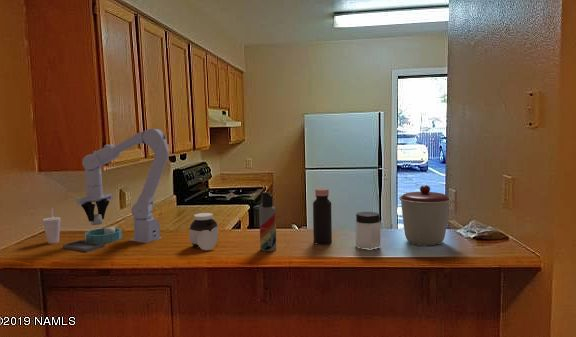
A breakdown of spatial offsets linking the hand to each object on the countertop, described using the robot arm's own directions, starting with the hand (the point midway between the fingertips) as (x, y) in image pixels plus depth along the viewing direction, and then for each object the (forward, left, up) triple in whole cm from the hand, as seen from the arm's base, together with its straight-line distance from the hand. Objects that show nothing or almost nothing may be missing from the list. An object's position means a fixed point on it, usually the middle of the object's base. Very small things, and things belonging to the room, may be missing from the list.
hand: (96, 220), depth 165 cm
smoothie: (+15, +8, -9) cm, 19 cm away
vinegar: (-81, -34, -9) cm, 88 cm away
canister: (-115, -49, -9) cm, 125 cm away
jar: (-98, -35, -9) cm, 104 cm away
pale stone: (0, -6, -8) cm, 10 cm away
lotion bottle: (-67, -18, -9) cm, 70 cm away
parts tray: (-3, +8, -9) cm, 12 cm away
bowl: (0, -3, -9) cm, 9 cm away
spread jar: (-44, -12, -9) cm, 46 cm away
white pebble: (0, 0, -2) cm, 2 cm away
